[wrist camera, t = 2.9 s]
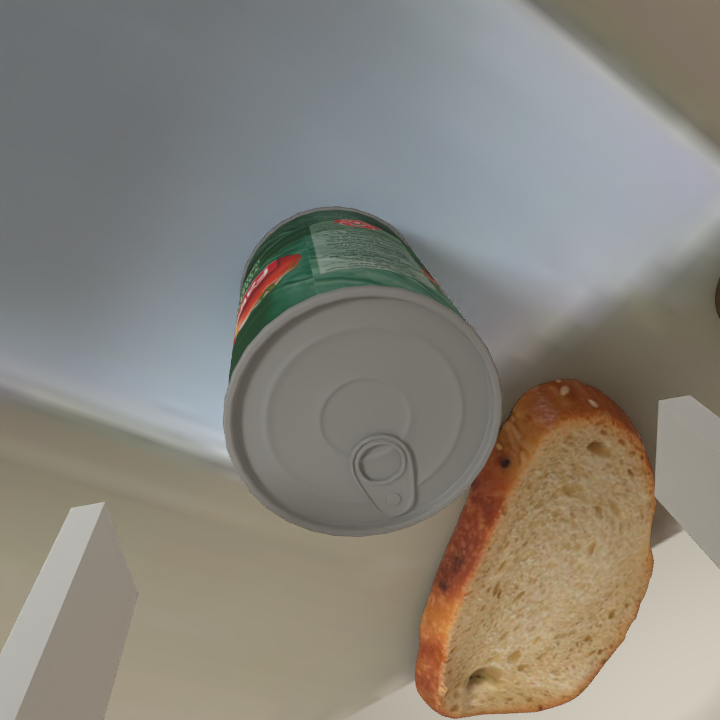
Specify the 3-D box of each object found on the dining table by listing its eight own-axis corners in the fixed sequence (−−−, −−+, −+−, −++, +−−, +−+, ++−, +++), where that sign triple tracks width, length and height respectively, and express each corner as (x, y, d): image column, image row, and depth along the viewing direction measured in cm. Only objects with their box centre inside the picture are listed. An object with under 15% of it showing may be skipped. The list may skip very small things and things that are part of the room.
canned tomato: (210, 242, 27) (174, 344, 17) (394, 179, 27) (468, 244, 17) (278, 404, 30) (281, 571, 20) (442, 349, 30) (527, 489, 20)
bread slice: (583, 347, 31) (621, 381, 28) (720, 571, 38) (764, 620, 35) (283, 548, 34) (285, 602, 30) (464, 723, 41) (481, 783, 38)
